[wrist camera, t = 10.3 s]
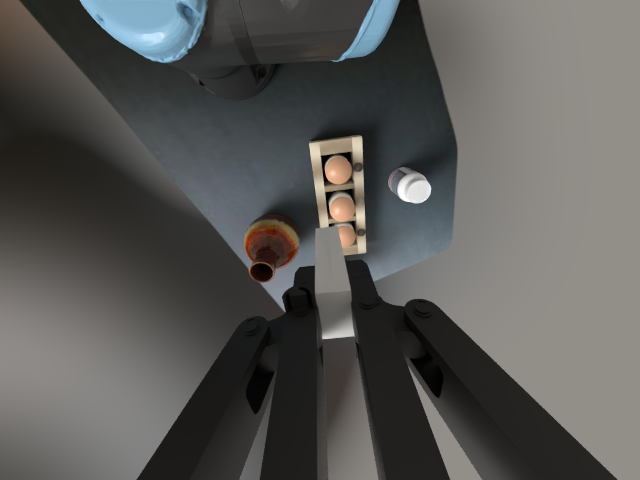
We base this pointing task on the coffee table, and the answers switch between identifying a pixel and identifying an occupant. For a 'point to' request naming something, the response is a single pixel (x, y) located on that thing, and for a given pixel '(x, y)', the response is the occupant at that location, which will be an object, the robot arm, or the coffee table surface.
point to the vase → (270, 245)
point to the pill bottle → (409, 185)
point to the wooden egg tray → (341, 185)
